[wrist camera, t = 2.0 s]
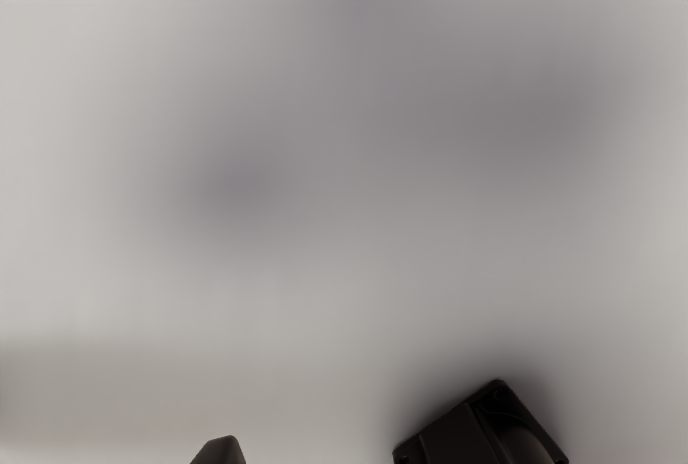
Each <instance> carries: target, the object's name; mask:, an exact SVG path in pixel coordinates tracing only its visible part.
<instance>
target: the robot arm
mask: <svg viewBox="0 0 688 464" xmlns="http://www.w3.org/2000/svg"><path fill="white" fill-rule="evenodd" d="M500 389H502V391H501V392H499V393H496V392H497V391H498V390H500ZM403 456H407V457H406V458H401V457H403ZM393 461H394V464H569V460H568V458H567V457H566V455H565V454H564V452H563V451H562V450H561V449H560V447H559V446H558V445H557V444H556V443H555V441H554V440H553V439H552V438H551V437H550V435H549V434H548V433H547V432H546V430H545V429H544V428H543V427H542V426H541V424H540V423H539V422H538V421H537V420H536V418H535V417H534V416H533V415H532V413H531V412H530V411H529V410H528V409H527V407H526V406H525V405H524V404H523V403H522V401H521V400H520V399H519V398H518V396H517V395H516V394H515V393H514V392H513V390H512V389H511V388H510V387H509V385H508V384H507V383H506V382H505V381H503V380H494V381H492V382H491V383H489V384H488V385H486V386H485V387H484V388H482V389H481V390H479V391H478V392H476V393H475V394H473V395H472V396H471V397H469V398H468V399H466V400H465V401H463V402H462V403H461V404H459V405H458V406H456V407H455V408H453V409H452V410H450V411H449V412H448V413H446V414H445V415H443V416H442V417H440V418H439V419H438V420H436V421H435V422H433V423H432V424H430V425H429V426H427V427H426V428H425V429H423V430H422V431H420V432H419V433H417V434H416V435H415V436H413V437H412V438H410V439H409V440H407V441H406V442H405V443H403V444H402V445H400V446H399V447H397V448H396V449H395V450H394V452H393ZM556 461H557V462H556ZM190 464H246V462H245V459H244V456H243V454H242V451H241V448H240V446H239V443H238V441H237V439H236V438H235V437H234V436H232V435H229V436H225V437H221V438H217V439H213V440H210V441H208V442H207V443H206V444H205V445H204V446H203V448H202V449H201V450H200V451H199V453H198V454H197V455H196V456H195V458H194V459H193V460H192V462H191V463H190Z"/></svg>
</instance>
